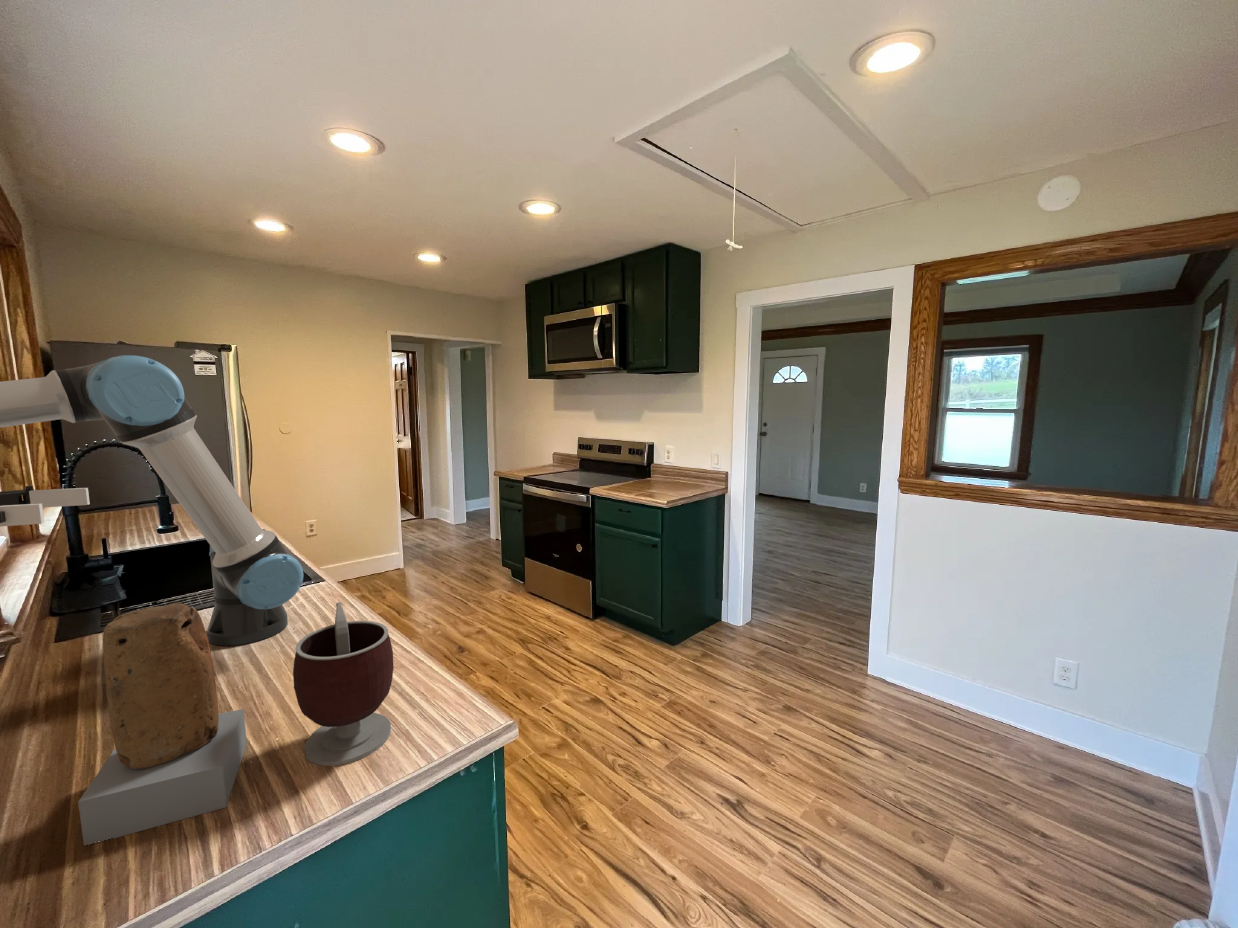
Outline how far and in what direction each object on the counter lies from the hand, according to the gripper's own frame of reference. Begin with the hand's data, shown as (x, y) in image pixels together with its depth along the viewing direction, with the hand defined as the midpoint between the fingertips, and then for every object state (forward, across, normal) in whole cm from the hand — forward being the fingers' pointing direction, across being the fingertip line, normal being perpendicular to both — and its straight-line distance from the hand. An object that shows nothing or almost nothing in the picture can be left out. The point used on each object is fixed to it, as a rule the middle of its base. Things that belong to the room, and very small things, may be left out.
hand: (67, 504), depth 77 cm
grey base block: (+15, +19, -38) cm, 45 cm away
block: (+15, +19, -32) cm, 40 cm away
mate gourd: (+36, +17, -38) cm, 55 cm away
